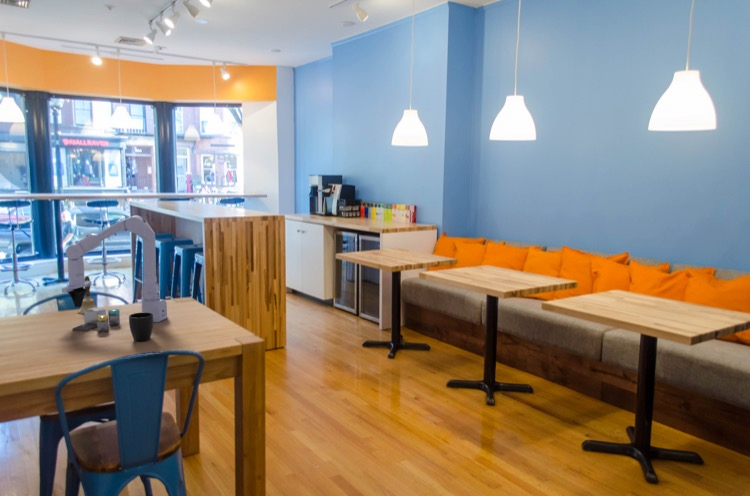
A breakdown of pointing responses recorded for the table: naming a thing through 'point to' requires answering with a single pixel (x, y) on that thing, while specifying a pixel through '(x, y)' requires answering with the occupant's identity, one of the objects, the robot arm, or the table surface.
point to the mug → (141, 326)
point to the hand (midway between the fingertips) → (78, 306)
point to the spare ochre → (102, 324)
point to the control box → (93, 315)
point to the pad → (84, 327)
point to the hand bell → (87, 300)
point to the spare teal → (114, 317)
